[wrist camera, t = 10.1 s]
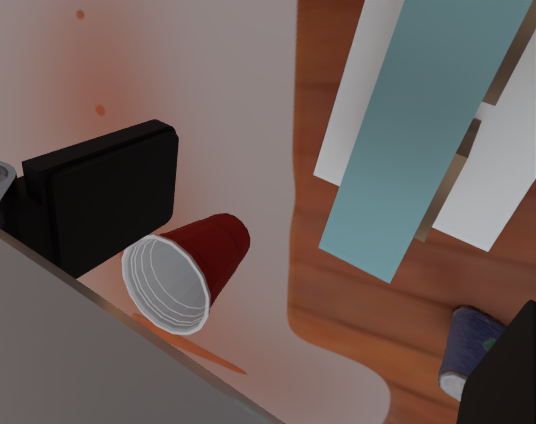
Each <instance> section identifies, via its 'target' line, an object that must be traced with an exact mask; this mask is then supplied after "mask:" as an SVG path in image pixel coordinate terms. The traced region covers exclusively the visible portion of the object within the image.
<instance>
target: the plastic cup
mask: <svg viewBox="0 0 536 424" xmlns="http://www.w3.org/2000/svg"><path fill="white" fill-rule="evenodd" d="M249 247H250V236H249V233H248V230H247V228H246V227H245V226H244V224H243V223H242V222H241V221H240V220H239V219H238V218H236V217H235V216H233V215H230V214H227V213H223V214H216V215H213V216H210V217H208V218H206V219H203V220H199V221H196V222H193V223H191V224H188V225H185V226H183V227H180V228H178V229H175V230H173V231H170V232H168V233H162V234H160V235H157V234H155V235H147V236H145V237H144V238H142V239H140V240H139V241H137V242H136V243H134V244H132V245H131V246H129V247H127V248H126V249H125V251H124V254H123V257H122V273H123V279H124V281H125V284H126V287H127V289H128V292H129V295H130V296H131V298H132V299H133V301H134V302H135V304H136V305H137V307H138V308H139V310H140V311H141V312H142V313H143V314H144V315H145V316H146V317H147V318H148V319H149V320H150V321H151V322H152V323H154V324H155V325H156V326H158V327H160V328H162V329H164V330H166V331H168V332H170V333H172V334H179V335H189V334H192V333H194V332H196V331H198V330H200V329H201V328H202V326H203V325H204V323H205V321H206V319H207V318H208V316H209V314H210V308H211V306H212V304H213V303H214V301H215V299H216V298H217V296H218V295H219V293H220V292H221V290H222V289H223V287H224V286H225V285H226V283H227V282H228V281H229V279H230V278H231V276H232V274H234V272H235V271H236V269H237V267H238V265H239V264H240V262H241V261H242V259H243V258H244V257H245V255H246V253H247V251H248V249H249Z"/></svg>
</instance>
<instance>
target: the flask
mask: <svg viewBox="0 0 536 424" xmlns="http://www.w3.org/2000/svg"><path fill="white" fill-rule="evenodd" d="M459 308H460V309H458V308H457V309H456V310H455V311H454V313H453V315H452V322H451V327H450V332H449V335H448V339H447V347H446V350H445V354H444V358H443V362H442V366H441V368H440V370H439V379H438V381H439V386H440V388H441V389H442V390H443V391H444V392H446V393H447V394H448V395H450V396H451V397H453V398H455V399H456V400H457V401H459V402H460V401H461V395H462V390H463V387H464V384H465V382H466V380H467V378H468V376H469V375H470V374H471V372H472V371H473V370H474V369H475V367H476V366H477V365H478V363H479V362H480V361H481V360H482V358H483V357H484V356H485V355H486V353H487V352H488V351H489V349H490V348H491V347H492V346H493V344H494V343H495V342H496V341H497V339H498V338H499V337H500V336H501V334H502V333H503V332H504V330H505V329H506V328H507V327H508V326H506V325H504V324H502V323H501V322H499V321H498V320H496V319H495V318H493V317H492V316H490V315H488V314H486V313H485V312H483V311H481V310H479V309H476V308H474V307H472V306H468V305H465V306H460V307H459Z"/></svg>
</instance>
